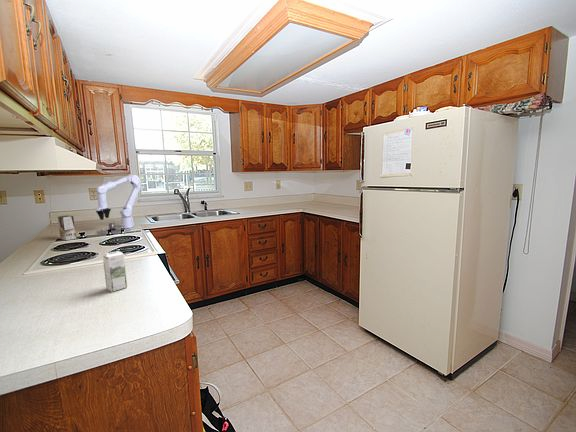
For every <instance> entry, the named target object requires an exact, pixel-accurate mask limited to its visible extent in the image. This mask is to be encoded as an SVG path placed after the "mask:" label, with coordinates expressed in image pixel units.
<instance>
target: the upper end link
mask: <svg viewBox="0 0 576 432" xmlns="http://www.w3.org/2000/svg"><path fill="white" fill-rule="evenodd" d="M108 230H109V228H101V229H99V230H97V231H96V234H97V235H103V234H102V233H103V232H108ZM120 230H121V227H118V228H117V227H115V230H111V232H118V231H120Z"/></svg>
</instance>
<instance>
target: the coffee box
mask: <svg viewBox="0 0 576 432" xmlns="http://www.w3.org/2000/svg"><path fill="white" fill-rule="evenodd" d="M74 218H75V217H74V215H69V214H68V215H60V216H57V223H58V230H59V236H60V240H64V241H70V240H76V239H77V234H76V228H75V219H74Z"/></svg>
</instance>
